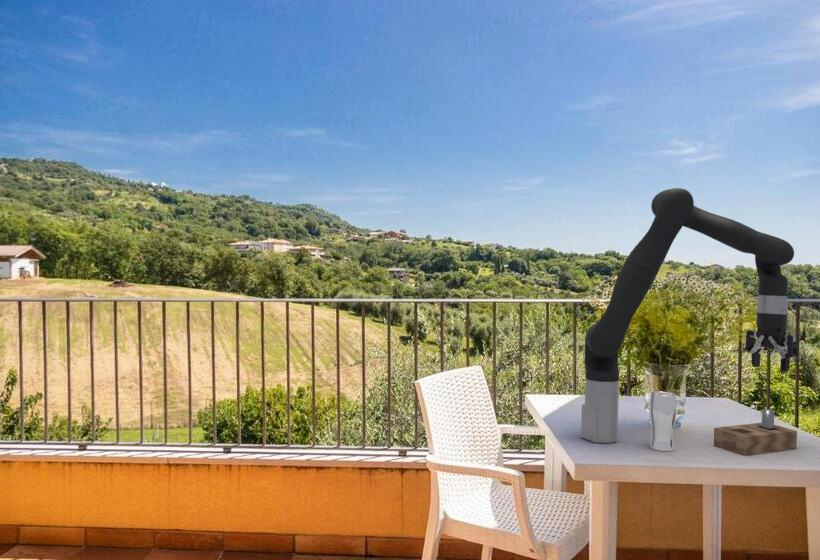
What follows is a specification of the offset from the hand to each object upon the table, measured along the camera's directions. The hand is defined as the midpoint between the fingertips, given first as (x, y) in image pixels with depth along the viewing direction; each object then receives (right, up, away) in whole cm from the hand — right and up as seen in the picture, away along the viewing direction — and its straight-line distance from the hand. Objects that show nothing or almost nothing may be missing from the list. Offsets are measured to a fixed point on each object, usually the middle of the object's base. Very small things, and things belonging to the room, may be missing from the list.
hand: (769, 369), depth 176 cm
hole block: (-5, -21, -2) cm, 22 cm away
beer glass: (-32, -21, -4) cm, 39 cm away
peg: (0, -22, +1) cm, 22 cm away
